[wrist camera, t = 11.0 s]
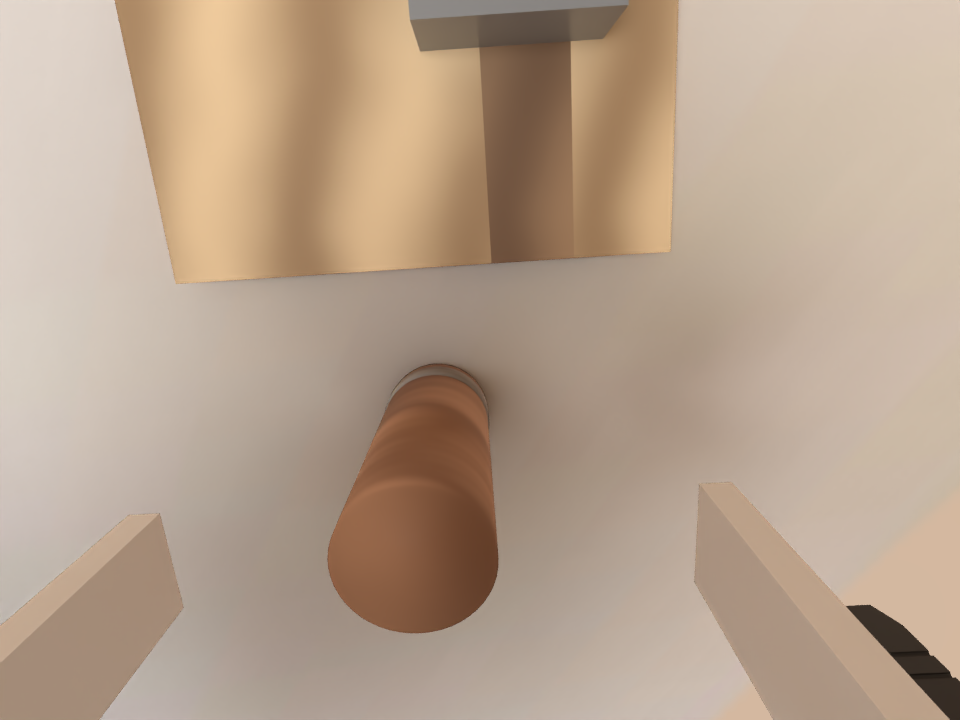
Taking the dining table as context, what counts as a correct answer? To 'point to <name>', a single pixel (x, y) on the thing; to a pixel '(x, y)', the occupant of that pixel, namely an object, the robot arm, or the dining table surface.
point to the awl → (421, 509)
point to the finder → (509, 21)
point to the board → (396, 138)
